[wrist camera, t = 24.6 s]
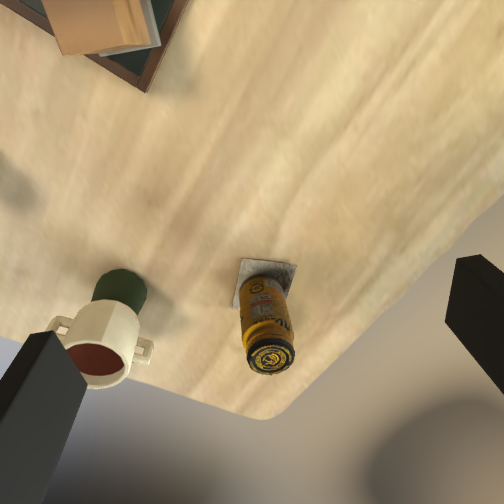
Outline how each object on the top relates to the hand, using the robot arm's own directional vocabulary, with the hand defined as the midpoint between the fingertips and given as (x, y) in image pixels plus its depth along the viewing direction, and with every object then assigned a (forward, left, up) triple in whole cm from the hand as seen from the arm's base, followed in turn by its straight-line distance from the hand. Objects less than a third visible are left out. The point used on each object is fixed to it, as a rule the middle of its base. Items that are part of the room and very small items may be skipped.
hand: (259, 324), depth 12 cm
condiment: (+15, +14, -29) cm, 35 cm away
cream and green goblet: (+24, -2, -29) cm, 38 cm away
